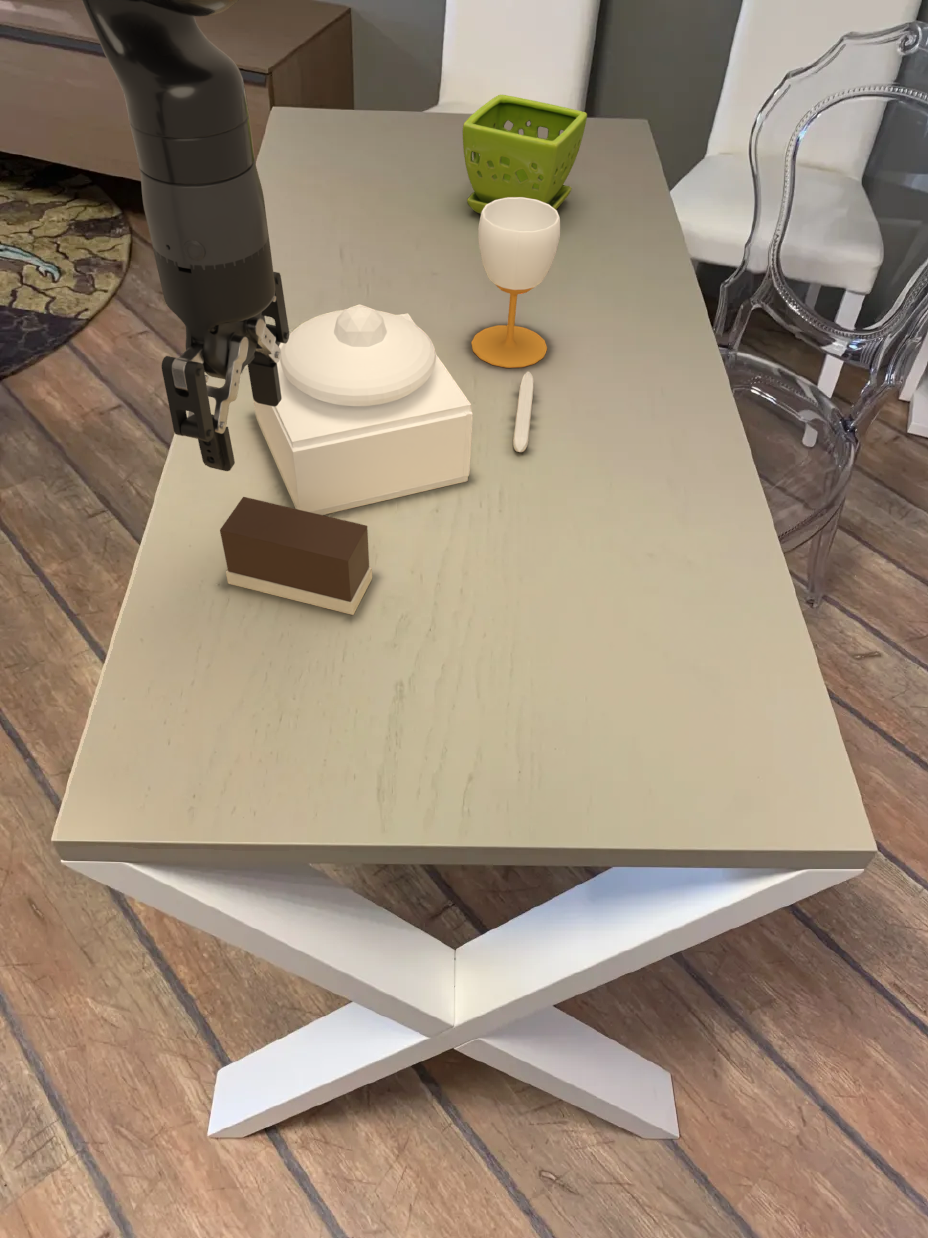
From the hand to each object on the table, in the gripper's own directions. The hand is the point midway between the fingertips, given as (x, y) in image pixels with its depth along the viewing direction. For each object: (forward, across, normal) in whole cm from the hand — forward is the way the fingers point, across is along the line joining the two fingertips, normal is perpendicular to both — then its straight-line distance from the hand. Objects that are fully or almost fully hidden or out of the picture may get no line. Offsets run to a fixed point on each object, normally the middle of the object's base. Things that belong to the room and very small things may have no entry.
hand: (244, 433), depth 74 cm
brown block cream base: (+16, 0, +3) cm, 16 cm away
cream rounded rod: (+16, -31, +16) cm, 39 cm away
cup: (+17, -44, +11) cm, 48 cm away
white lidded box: (+16, -20, +1) cm, 26 cm away
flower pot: (+17, -80, +3) cm, 82 cm away
